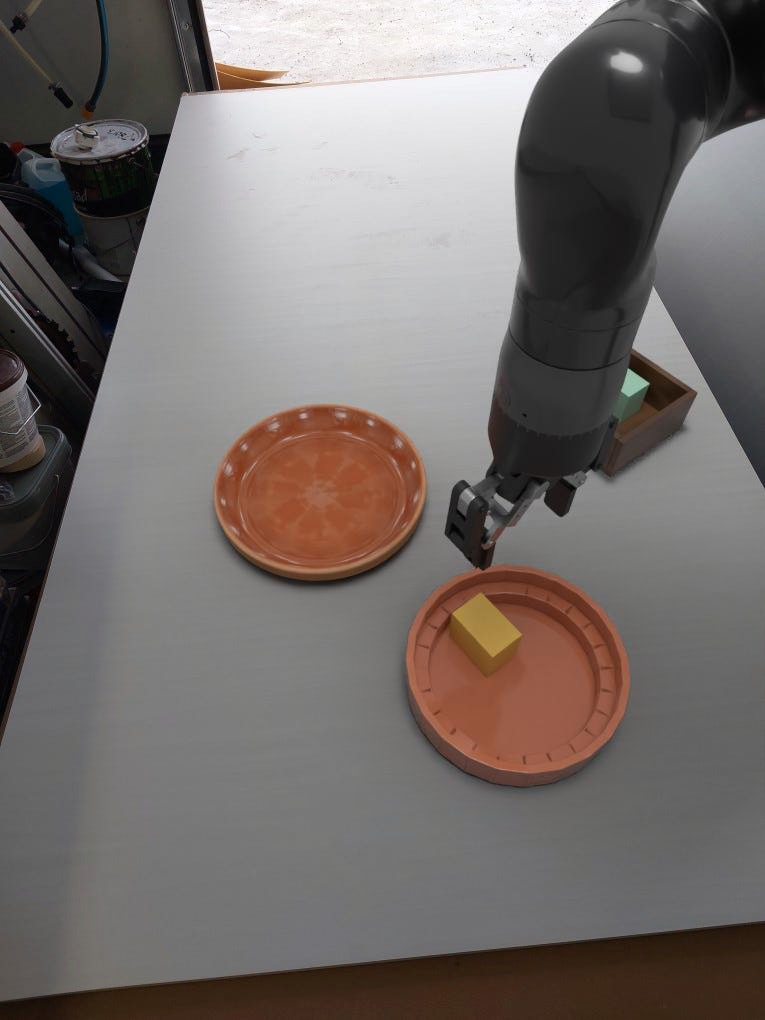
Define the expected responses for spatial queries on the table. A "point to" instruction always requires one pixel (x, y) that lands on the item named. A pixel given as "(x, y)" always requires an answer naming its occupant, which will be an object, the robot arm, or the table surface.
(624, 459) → the holder
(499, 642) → the yellow block
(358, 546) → the saucer
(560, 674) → the bowl
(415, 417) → the table surface
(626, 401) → the mint green block
